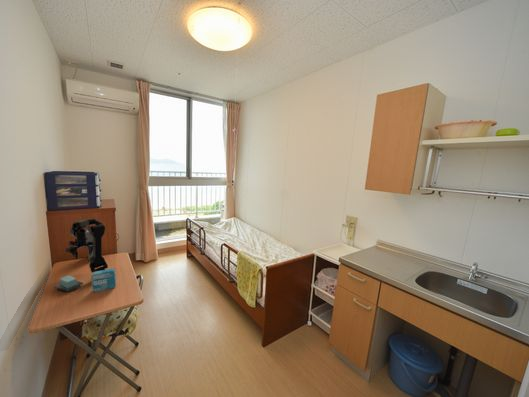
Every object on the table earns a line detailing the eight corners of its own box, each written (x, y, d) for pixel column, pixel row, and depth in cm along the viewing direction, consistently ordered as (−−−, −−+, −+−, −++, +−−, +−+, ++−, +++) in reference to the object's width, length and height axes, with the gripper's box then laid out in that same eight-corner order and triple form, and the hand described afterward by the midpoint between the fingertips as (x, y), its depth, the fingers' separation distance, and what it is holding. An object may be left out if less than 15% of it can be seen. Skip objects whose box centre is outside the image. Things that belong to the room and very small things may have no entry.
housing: (69, 280, 147) (68, 275, 146) (77, 284, 142) (76, 278, 142) (60, 284, 142) (59, 278, 142) (67, 288, 138) (66, 282, 137)
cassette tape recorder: (97, 259, 187) (94, 231, 183) (88, 260, 184) (85, 232, 180) (99, 253, 199) (96, 227, 195) (90, 255, 195) (87, 228, 192)
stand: (83, 286, 145) (82, 282, 144) (67, 293, 136) (67, 289, 136) (70, 282, 149) (69, 279, 148) (54, 289, 140) (53, 286, 140)
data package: (92, 292, 137) (90, 275, 135) (94, 289, 141) (92, 272, 139) (115, 287, 143) (114, 270, 141) (116, 284, 147) (114, 267, 145)
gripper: (87, 232, 174) (89, 251, 176) (59, 240, 156) (61, 260, 158) (97, 234, 170) (99, 253, 172) (69, 241, 153) (72, 262, 155)
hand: (83, 257), depth 165 cm, fingers open, 9 cm apart
